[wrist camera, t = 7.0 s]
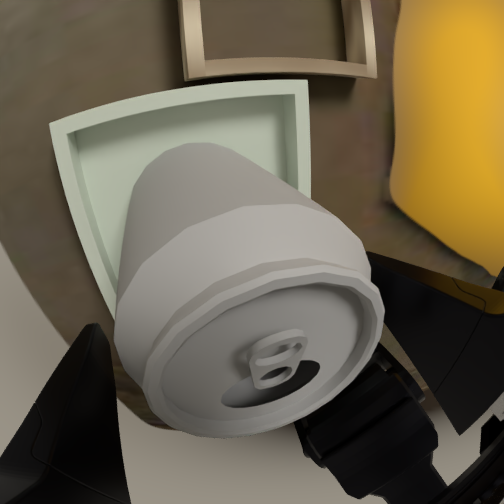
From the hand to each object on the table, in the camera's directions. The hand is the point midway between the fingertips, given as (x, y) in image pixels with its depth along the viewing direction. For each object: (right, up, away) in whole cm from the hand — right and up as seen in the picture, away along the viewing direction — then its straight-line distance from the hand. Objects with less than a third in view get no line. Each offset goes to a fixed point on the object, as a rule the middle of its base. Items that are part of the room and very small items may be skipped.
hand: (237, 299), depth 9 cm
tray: (-3, +4, +7) cm, 9 cm away
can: (-3, +4, +7) cm, 9 cm away
